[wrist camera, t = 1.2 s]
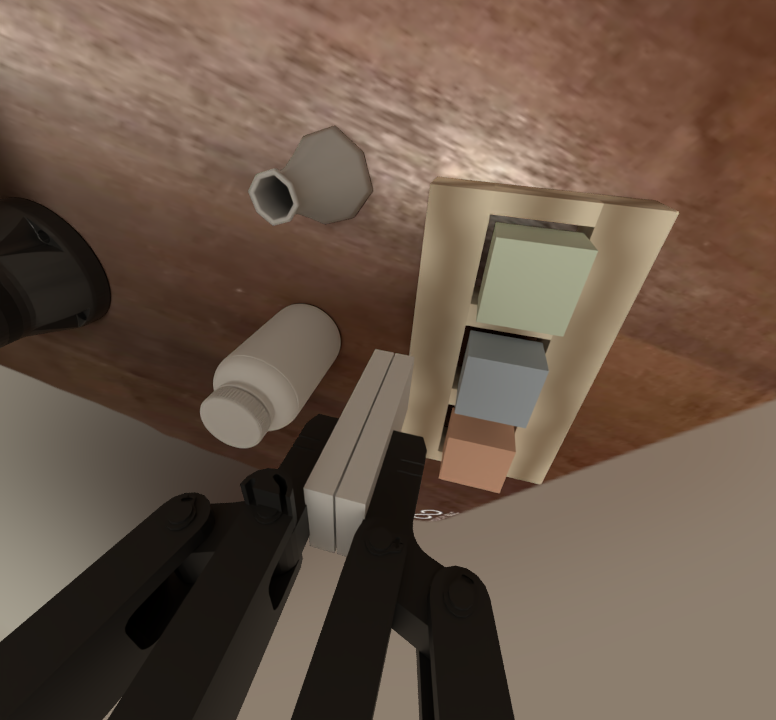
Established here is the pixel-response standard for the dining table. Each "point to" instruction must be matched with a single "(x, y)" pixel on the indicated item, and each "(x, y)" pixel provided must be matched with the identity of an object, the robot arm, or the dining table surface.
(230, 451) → the dining table surface
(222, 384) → the pill bottle
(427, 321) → the panel
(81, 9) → the dining table surface
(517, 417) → the button slate
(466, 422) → the button terracotta
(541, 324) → the button sage
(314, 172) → the flask
